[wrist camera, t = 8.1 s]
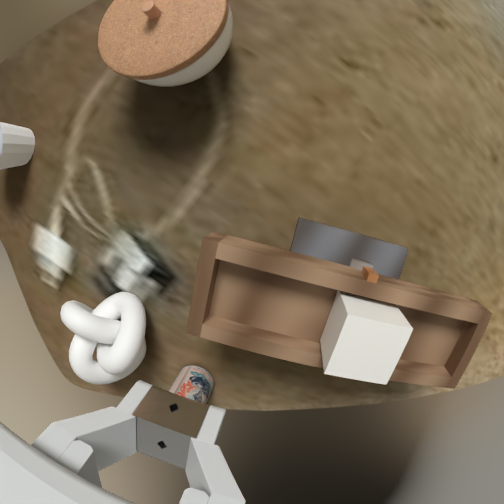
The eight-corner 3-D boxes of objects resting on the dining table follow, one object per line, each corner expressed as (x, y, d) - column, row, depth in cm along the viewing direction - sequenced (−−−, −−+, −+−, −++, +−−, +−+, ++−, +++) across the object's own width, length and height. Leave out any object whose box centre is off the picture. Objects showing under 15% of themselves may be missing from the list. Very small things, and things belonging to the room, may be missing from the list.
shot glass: (13, 127, 34) (-20, 125, 27) (39, 120, 33) (4, 116, 26) (10, 170, 35) (-24, 173, 29) (36, 168, 35) (0, 170, 28)
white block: (393, 302, 23) (413, 328, 19) (373, 351, 25) (386, 384, 20) (338, 288, 24) (347, 314, 19) (320, 340, 25) (324, 373, 20)
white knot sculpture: (168, 370, 38) (141, 412, 30) (95, 354, 40) (61, 386, 31) (161, 292, 36) (124, 324, 27) (82, 281, 37) (39, 305, 29)
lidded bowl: (133, 105, 31) (75, 83, 20) (145, 15, 28) (100, -25, 18) (241, 96, 30) (215, 59, 19) (246, 1, 27) (226, -55, 16)
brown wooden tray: (452, 262, 30) (500, 292, 20) (415, 353, 33) (444, 404, 23) (235, 201, 32) (208, 211, 22) (213, 305, 35) (183, 352, 25)
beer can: (222, 384, 38) (197, 451, 26) (195, 396, 39) (165, 458, 27) (199, 357, 37) (165, 420, 25) (172, 371, 38) (135, 430, 27)
